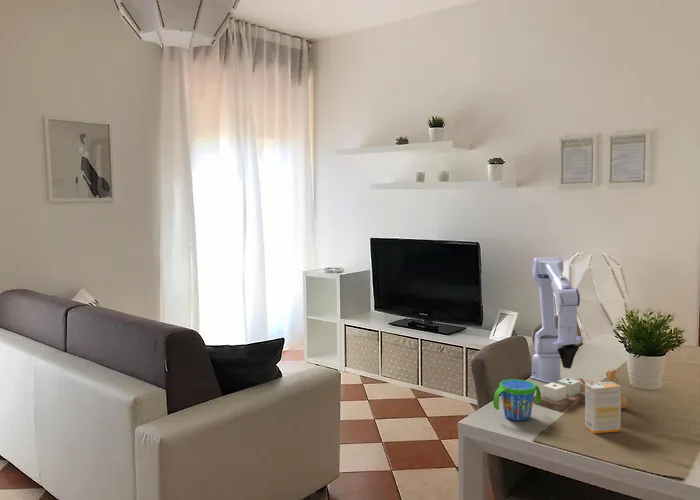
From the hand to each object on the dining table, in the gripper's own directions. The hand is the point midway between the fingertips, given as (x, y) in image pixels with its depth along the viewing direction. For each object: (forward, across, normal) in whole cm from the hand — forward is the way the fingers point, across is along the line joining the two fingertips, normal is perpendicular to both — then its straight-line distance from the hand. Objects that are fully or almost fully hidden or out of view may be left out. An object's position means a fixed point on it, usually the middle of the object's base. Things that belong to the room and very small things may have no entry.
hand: (567, 367), depth 187 cm
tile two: (+9, +1, 0) cm, 9 cm away
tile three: (+10, +9, 0) cm, 13 cm away
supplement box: (+11, -14, -21) cm, 27 cm away
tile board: (+10, +1, 0) cm, 11 cm away
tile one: (+9, -6, 0) cm, 11 cm away
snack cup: (+11, -25, 0) cm, 27 cm away
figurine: (+11, +5, -14) cm, 18 cm away
